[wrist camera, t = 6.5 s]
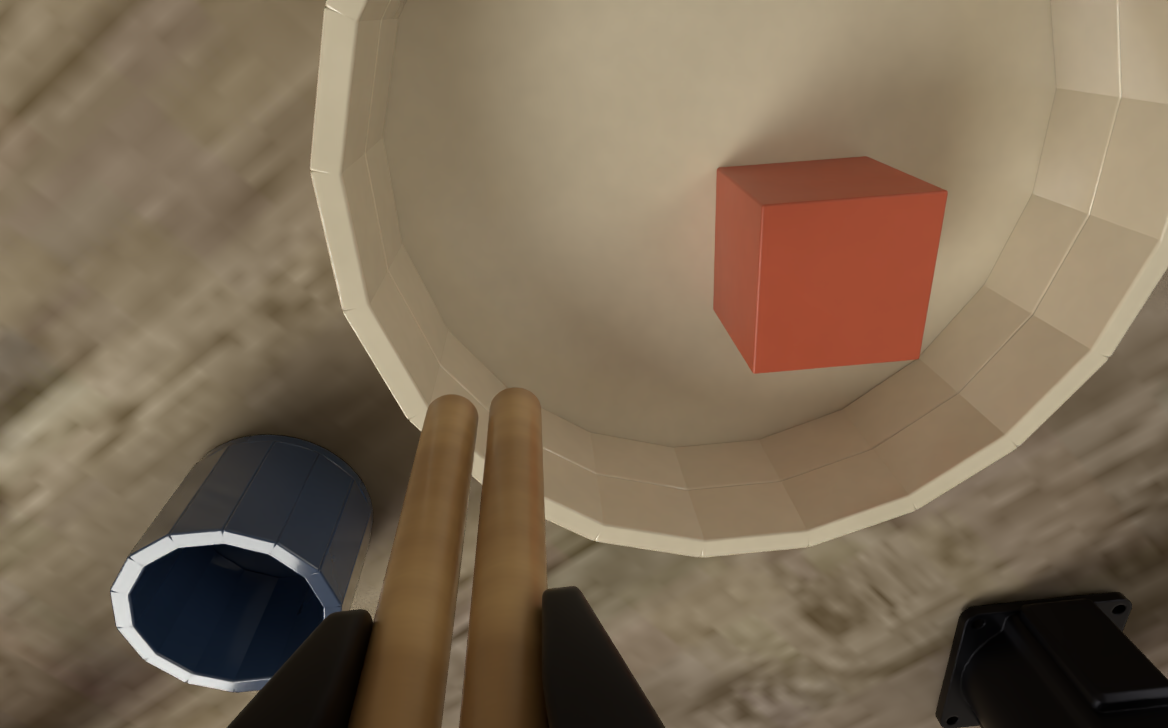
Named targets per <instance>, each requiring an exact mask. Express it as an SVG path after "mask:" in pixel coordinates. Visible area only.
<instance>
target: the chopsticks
mask: <svg viewBox="0 0 1168 728" xmlns="http://www.w3.org/2000/svg"><path fill="white" fill-rule="evenodd" d="M478 418H479V417H478V412H477V409H476V407H475V406H474V405H473V403H472V402H471V401H470V400H468V399H467V398H465V397H463V396H460V395H456V394H448V395H443V396H441V397H438V398H437V399H435V400H434V401H433V402H432V403H431V404H430V405H429V407H428V409H427V412H426V416H425V420H424V424H423V428H422V432H421V436H420V440H419V444H418V448H417V452H416V456H415V459H414V463H413V467H412V471H411V475H410V479H409V483H408V487H407V491H406V495H405V499H404V503H403V507H402V511H401V515H400V519H399V523H398V527H397V531H396V535H395V539H394V543H393V547H392V551H391V554H390V558H389V562H388V566H387V570H386V574H385V578H384V582H383V586H382V590H381V594H380V598H379V602H378V606H377V610H376V614H375V618H374V622H373V628H372V632H371V636H370V640H369V643H368V647H367V651H366V655H365V659H364V663H363V667H362V671H361V675H360V679H359V683H358V687H357V691H356V695H355V699H354V703H353V707H352V711H351V715H350V719H349V723H348V727H347V728H441V726H442V717H443V709H444V701H445V693H446V684H447V676H448V668H449V659H450V651H451V643H452V635H453V626H454V618H455V610H456V601H457V593H458V585H459V577H460V568H461V560H462V552H463V543H464V535H465V527H466V518H467V510H468V502H469V494H470V485H471V477H472V469H473V460H474V452H475V444H476V436H477V427H478ZM546 589H547V561H546V532H545V503H544V473H543V444H542V415H541V404H540V402H539V400H538V398H537V397H536V396H535V395H534V394H533V393H532V392H530V391H529V390H526V389H524V388H519V387H512V388H507V389H505V390H502V391H501V392H499V393H498V394H497V395H496V396H495V397H494V398H493V400H492V401H491V404H490V410H489V420H488V431H487V441H486V452H485V462H484V473H483V483H482V493H481V504H480V514H479V525H478V535H477V546H476V556H475V566H474V577H473V587H472V598H471V608H470V619H469V629H468V640H467V650H466V660H465V671H464V681H463V692H462V702H461V713H460V723H459V728H549V724H548V718H547V711H546V704H545V697H544V690H543V683H542V594H543V592H544V591H545V590H546Z"/></svg>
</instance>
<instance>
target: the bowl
mask: <svg viewBox="0 0 1168 728" xmlns="http://www.w3.org/2000/svg"><path fill="white" fill-rule="evenodd" d="M863 156H867V157H870V158H872V159H874V160H877V161H879V162H881V163H884V164H886V165H888V166H891V167H893V168H895V169H898V170H900V171H902V172H905V173H907V174H909V175H912V176H914V177H916V178H919V179H921V180H923V181H926V182H928V183H930V184H933V185H935V186H937V187H940V188H942V189H944V190H947V191H948V196H947V202H946V207H945V213H944V219H943V225H942V230H941V236H940V242H939V248H938V254H937V259H936V265H935V271H934V277H933V282H932V288H931V294H930V300H929V306H928V311H927V317H926V323H925V329H924V334H923V340H922V346H921V352H920V358H919V359H918V360H907V361H896V362H884V363H873V364H861V365H850V366H838V367H827V368H815V369H804V370H792V371H781V372H769V373H758V374H754V373H752V371H751V369H750V368H749V366H748V365H747V363H746V361H745V360H744V358H743V357H742V355H741V353H740V352H739V350H738V348H737V347H736V345H735V344H734V342H733V340H732V339H731V337H730V336H729V334H728V332H727V331H726V329H725V328H724V326H723V324H722V323H721V321H720V320H719V318H718V316H717V315H716V313H715V311H714V310H713V297H714V257H715V216H716V176H717V168H719V167H731V166H744V165H757V164H771V163H784V162H797V161H810V160H823V159H836V158H849V157H863ZM310 170H312V171H311V174H310V175H311V179H312V183H313V188H314V192H315V196H316V201H317V205H318V209H319V214H320V218H321V222H322V226H323V231H324V235H325V239H326V244H327V248H328V252H329V257H330V261H331V265H332V270H333V274H334V278H335V283H336V287H337V291H338V295H339V300H340V304H341V308H342V309H343V314H344V315H345V317H346V319H347V320H348V322H349V324H350V325H351V327H352V329H353V330H354V332H355V334H356V335H357V337H358V338H359V340H360V342H361V343H362V345H363V347H364V348H365V350H366V352H367V353H368V355H369V357H370V358H371V360H372V362H373V363H374V365H375V367H376V368H377V370H378V372H379V373H380V375H381V377H382V378H383V380H384V382H385V383H386V385H387V386H388V388H389V390H390V391H391V393H392V395H393V396H394V398H395V400H396V401H397V403H398V405H399V406H400V408H401V410H402V411H403V413H404V415H405V416H406V418H407V419H409V421H410V422H411V423H412V424H413V425H414V426H416V427H417V428H418V429H419V430H420V431H421V432H422V428H423V424H424V420H425V416H426V412H427V409H428V407H429V405H430V404H431V403H432V402H433V401H434V400H435V399H437V398H438V397H441V396H443V395H448V394H456V395H460V396H463V397H465V398H467V399H468V400H470V401H471V402H472V403H473V405H474V406H475V407H476V409H477V412H478V417H479V418H478V427H477V436H476V444H475V452H474V460H473V469H472V476H473V477H474V478H475V479H476V480H477V481H478V482H479V483H481V484H482V483H483V473H484V462H485V452H486V441H487V431H488V420H489V410H490V404H491V401H492V400H493V398H494V397H495V396H496V395H497V394H498V393H499V392H501V391H502V390H505V389H507V388H512V387H519V388H524V389H526V390H529V391H530V392H532V393H533V394H534V395H535V396H536V397H537V398H538V400H539V402H540V404H541V415H542V444H543V473H544V503H545V519H546V520H548V521H550V522H553V523H555V524H557V525H559V526H561V527H564V528H566V529H568V530H570V531H572V532H575V533H577V534H579V535H581V536H583V537H586V538H588V539H590V540H592V541H594V540H595V541H597V542H602V543H609V544H615V545H622V546H628V547H634V548H641V549H647V550H654V551H660V552H666V553H673V554H679V555H686V556H692V557H700V556H701V557H703V558H704V557H714V556H725V555H735V554H745V553H756V552H766V551H777V550H787V549H797V548H807V547H808V546H810V547H812V546H815V545H818V544H821V543H824V542H827V541H830V540H832V539H835V538H838V537H841V536H844V535H847V534H850V533H853V532H856V531H859V530H862V529H865V528H867V527H870V526H873V525H876V524H879V523H882V522H885V521H888V520H891V519H894V518H897V517H900V516H902V515H905V514H908V513H911V512H914V511H915V509H920V508H921V507H923V506H925V505H926V504H928V503H930V502H931V501H933V500H934V499H936V498H938V497H939V496H941V495H942V494H944V493H946V492H947V491H949V490H951V489H952V488H954V487H955V486H957V485H959V484H960V483H962V482H964V481H965V480H967V479H968V478H970V477H972V476H973V475H975V474H976V473H978V472H980V471H981V470H983V469H985V468H986V467H988V466H989V465H991V464H993V463H994V462H996V461H998V460H999V459H1001V458H1002V457H1004V456H1006V455H1007V454H1009V453H1011V452H1012V451H1014V450H1015V449H1016V448H1017V446H1021V445H1022V444H1023V443H1024V442H1025V441H1026V440H1027V439H1028V438H1029V437H1030V436H1031V435H1032V434H1033V433H1034V432H1035V431H1036V430H1037V429H1038V428H1039V427H1040V426H1041V425H1042V424H1043V423H1044V422H1045V421H1046V420H1047V419H1048V418H1049V417H1050V416H1051V415H1052V414H1053V413H1054V412H1055V411H1056V410H1057V409H1058V408H1060V407H1061V406H1062V405H1063V404H1064V403H1065V402H1066V401H1067V400H1068V399H1069V398H1070V397H1071V396H1072V395H1073V394H1074V393H1075V392H1076V391H1077V390H1078V389H1079V388H1080V387H1081V386H1082V385H1083V384H1084V383H1085V382H1086V381H1087V380H1088V379H1089V378H1090V377H1091V376H1092V375H1093V374H1094V373H1095V372H1096V371H1097V370H1098V369H1099V368H1101V367H1102V366H1103V365H1104V364H1105V363H1106V362H1107V361H1108V357H1110V356H1112V354H1113V353H1114V351H1115V350H1116V348H1117V347H1118V345H1119V343H1120V342H1121V340H1122V339H1123V337H1124V336H1125V334H1126V333H1127V331H1128V329H1129V328H1130V326H1131V325H1132V323H1133V322H1134V320H1135V319H1136V317H1137V315H1138V314H1139V312H1140V311H1141V309H1142V308H1143V306H1144V304H1145V303H1146V301H1147V300H1148V298H1149V297H1150V295H1151V294H1152V292H1153V290H1154V289H1155V287H1156V286H1157V284H1158V283H1159V281H1160V280H1161V278H1162V276H1163V275H1164V273H1165V272H1166V270H1167V269H1168V0H326V7H325V8H324V12H323V24H322V35H321V46H320V57H319V68H318V79H317V91H316V102H315V113H314V124H313V135H312V146H311V158H310Z"/></svg>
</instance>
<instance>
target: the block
mask: <svg viewBox="0 0 1168 728" xmlns="http://www.w3.org/2000/svg"><path fill="white" fill-rule="evenodd" d="M947 196H948V191H947V190H944V189H942V188H940V187H937V186H935V185H933V184H930V183H928V182H926V181H923V180H921V179H919V178H916V177H914V176H912V175H909V174H907V173H905V172H902V171H900V170H898V169H895V168H893V167H891V166H888V165H886V164H884V163H881V162H879V161H877V160H874V159H872V158H870V157H867V156H863V157H849V158H836V159H823V160H810V161H797V162H784V163H771V164H757V165H744V166H731V167H719V168H717V176H716V216H715V257H714V297H713V310H714V311H715V313H716V315H717V316H718V318H719V320H720V321H721V323H722V324H723V326H724V328H725V329H726V331H727V332H728V334H729V336H730V337H731V339H732V340H733V342H734V344H735V345H736V347H737V348H738V350H739V352H740V353H741V355H742V357H743V358H744V360H745V361H746V363H747V365H748V366H749V368H750V369H751V371H752V373H754V374H758V373H769V372H781V371H792V370H804V369H815V368H827V367H838V366H850V365H861V364H873V363H884V362H896V361H907V360H918V359H919V358H920V352H921V346H922V340H923V334H924V329H925V323H926V317H927V311H928V306H929V300H930V294H931V288H932V282H933V277H934V271H935V265H936V259H937V254H938V248H939V242H940V236H941V230H942V225H943V219H944V213H945V207H946V202H947Z"/></svg>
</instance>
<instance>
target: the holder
mask: <svg viewBox="0 0 1168 728" xmlns="http://www.w3.org/2000/svg"><path fill="white" fill-rule="evenodd" d="M372 525H373V508H372V503H371V499H370V496H369V493H368V491H367V489H366V487H365V485H364V484H363V482H362V481H361V479H360V478H359V476H358V475H357V474H356V473H355V472H354V470H353V469H352V468H351V467H350V466H349V465H348V464H346V463H345V462H344V461H343V460H342V459H340V458H339V457H338V456H336V455H335V454H333V453H332V452H330V451H328V450H326V449H324V448H322V447H321V446H318V445H316V444H313V443H311V442H308V441H305V440H301V439H298V438H294V437H288V436H282V435H254V436H247V437H243V438H239V439H235V440H232V441H230V442H227V443H225V444H222V445H220V446H219V447H217V448H215V449H213V450H212V451H211V452H209V453H208V454H207V455H206V456H204V457H203V458H202V459H201V461H200V462H198V463H196V465H194V467H193V468H192V469H191V471H190V472H189V473H188V475H187V476H186V477H185V479H184V480H183V482H182V483H181V484H180V486H179V487H178V488H177V490H176V491H175V492H174V494H173V495H172V497H171V498H170V499H169V501H168V502H167V503H166V505H165V506H164V508H163V509H162V510H161V512H160V513H159V514H158V516H157V517H156V518H155V520H154V521H153V523H152V524H151V525H150V527H149V528H148V529H147V531H146V532H145V533H144V535H143V536H142V538H141V539H140V540H139V542H138V543H137V544H136V546H135V547H134V548H133V550H132V551H131V553H130V554H129V555H128V557H127V558H126V560H125V562H124V564H123V566H122V568H121V569H120V571H119V573H118V575H117V577H116V579H115V580H114V582H113V584H112V586H111V589H110V595H111V601H112V607H113V613H114V619H115V625H116V627H117V630H118V631H119V632H120V633H121V634H122V635H123V637H124V638H125V639H126V640H127V641H128V643H129V644H130V645H131V646H132V647H133V648H134V650H135V651H136V652H137V653H138V654H139V656H140V657H141V658H142V659H143V660H145V661H146V662H147V663H149V664H151V665H153V666H155V667H157V668H159V669H160V670H162V671H164V672H166V673H168V674H170V675H172V676H173V677H175V678H177V679H179V680H181V681H183V682H187V683H188V684H192V685H197V686H202V687H208V688H213V689H218V690H223V691H228V692H236V693H238V692H248V691H258V690H261V689H262V688H263V687H264V686H265V684H266V683H267V682H268V681H269V680H270V679H271V678H272V677H273V676H274V674H275V673H276V672H277V671H278V670H279V669H280V668H281V667H282V666H283V664H284V663H285V662H286V661H287V660H288V659H289V658H290V657H291V656H292V654H293V653H294V652H295V651H296V650H297V649H298V648H299V647H300V646H301V644H302V643H303V642H304V641H305V640H306V639H307V638H308V637H309V636H310V634H311V633H312V632H313V631H314V630H315V629H316V628H317V627H318V626H319V624H320V623H321V622H322V621H323V620H324V619H325V618H326V617H327V616H328V615H330V614H331V613H334V612H341V611H350V608H351V605H352V601H353V598H354V595H355V591H356V588H357V584H358V581H359V578H360V574H361V571H362V568H363V564H364V561H365V557H366V554H367V551H368V547H369V544H370V534H371V530H372Z"/></svg>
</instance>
